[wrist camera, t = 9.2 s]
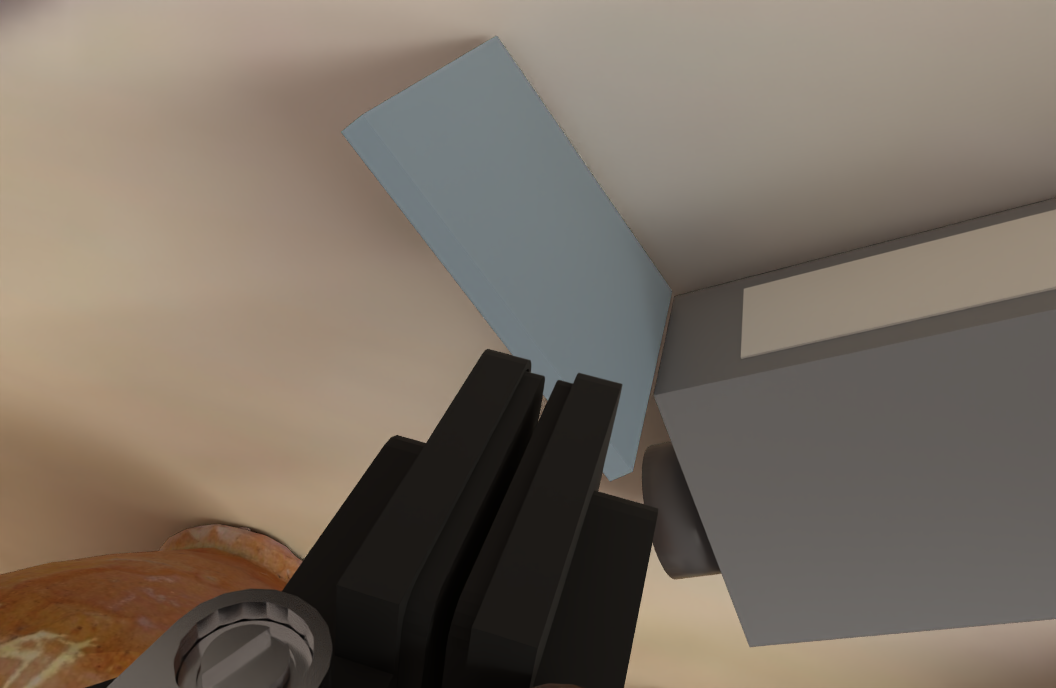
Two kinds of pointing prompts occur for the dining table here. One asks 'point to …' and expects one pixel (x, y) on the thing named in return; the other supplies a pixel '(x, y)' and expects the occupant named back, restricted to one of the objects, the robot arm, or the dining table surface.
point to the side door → (523, 229)
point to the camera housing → (868, 436)
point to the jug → (123, 602)
